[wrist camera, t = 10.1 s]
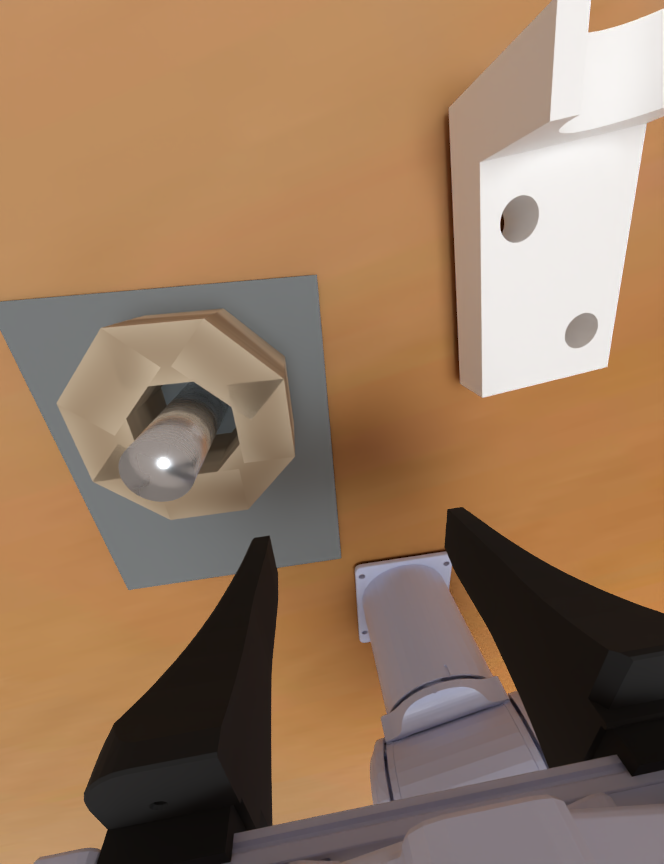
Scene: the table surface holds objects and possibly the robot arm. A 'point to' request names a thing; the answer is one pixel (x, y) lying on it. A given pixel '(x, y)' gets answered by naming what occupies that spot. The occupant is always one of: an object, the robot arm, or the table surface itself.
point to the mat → (284, 498)
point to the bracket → (549, 194)
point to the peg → (173, 446)
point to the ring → (143, 401)
